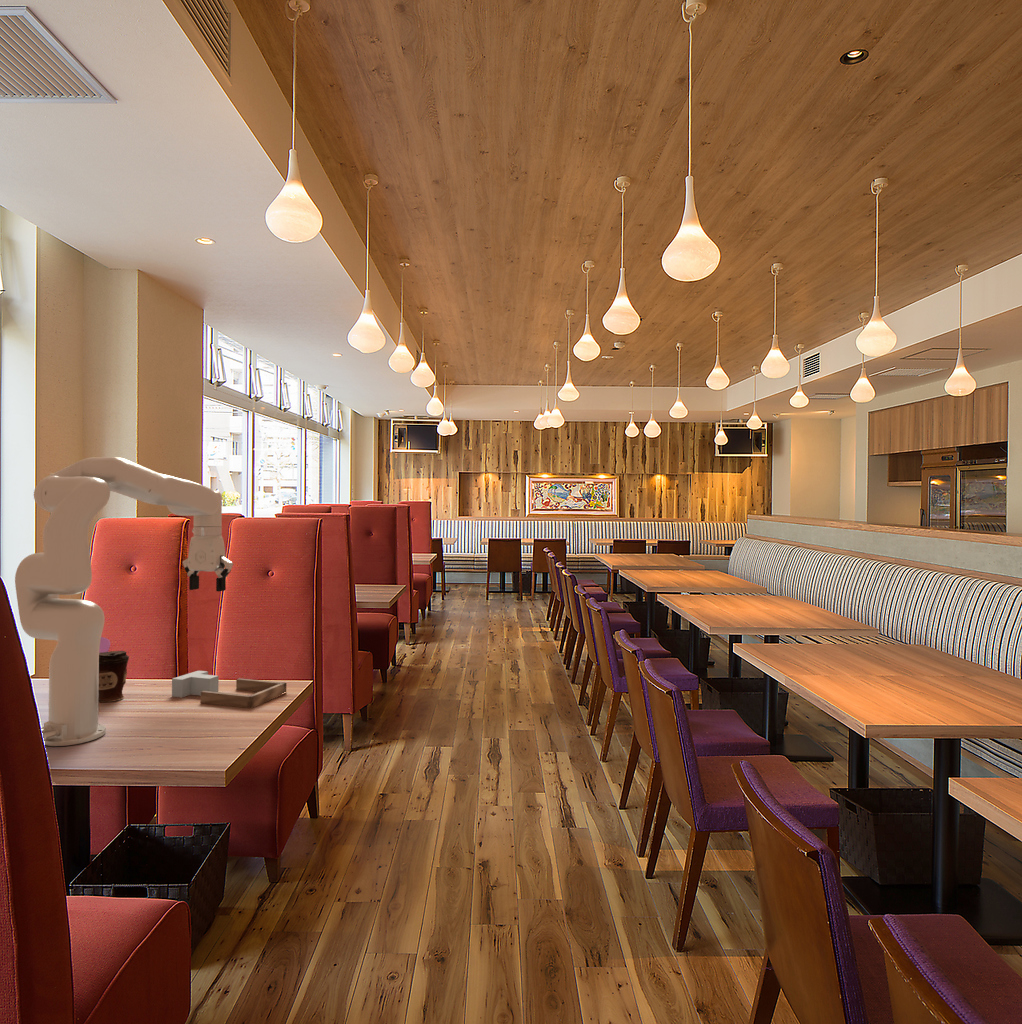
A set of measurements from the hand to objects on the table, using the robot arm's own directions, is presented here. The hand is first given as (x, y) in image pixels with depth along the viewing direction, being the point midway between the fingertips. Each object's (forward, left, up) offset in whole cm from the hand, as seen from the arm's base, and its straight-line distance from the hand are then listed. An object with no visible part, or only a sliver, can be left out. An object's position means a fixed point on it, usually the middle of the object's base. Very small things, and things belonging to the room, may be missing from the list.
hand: (207, 590), depth 193 cm
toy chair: (-10, +28, -29) cm, 42 cm away
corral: (-5, -17, -29) cm, 34 cm away
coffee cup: (-18, +16, -29) cm, 38 cm away
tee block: (-5, -2, -29) cm, 30 cm away
